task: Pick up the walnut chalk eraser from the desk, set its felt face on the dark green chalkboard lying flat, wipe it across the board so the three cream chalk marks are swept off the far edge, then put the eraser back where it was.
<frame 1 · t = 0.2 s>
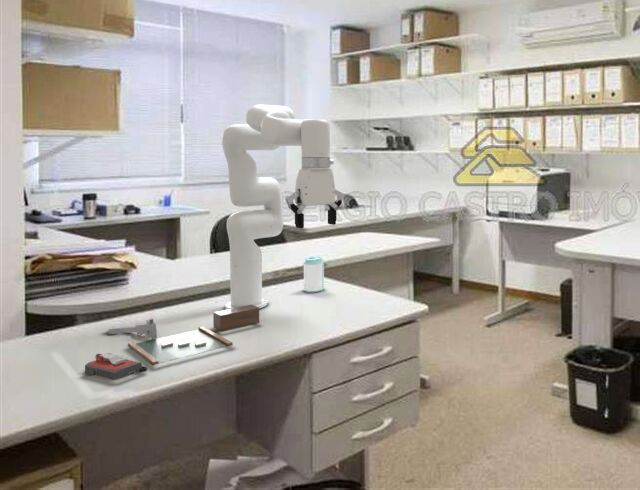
hand: (316, 226, 157), 31 cm above the table, tool pointing down, fingers open, 9 cm apart
chalk mark b: (183, 345, 148), point 1 cm above the table, touching chalkboard
eraser: (236, 329, 165), on the table
can: (313, 291, 209), on the table
chalk mark c: (200, 345, 149), point 1 cm above the table, touching chalkboard
walkie-talkie: (109, 372, 134), on the table
caliper: (130, 338, 158), on the table
chalk mark a: (167, 345, 148), point 1 cm above the table, touching chalkboard
chalkboard: (180, 349, 149), on the table
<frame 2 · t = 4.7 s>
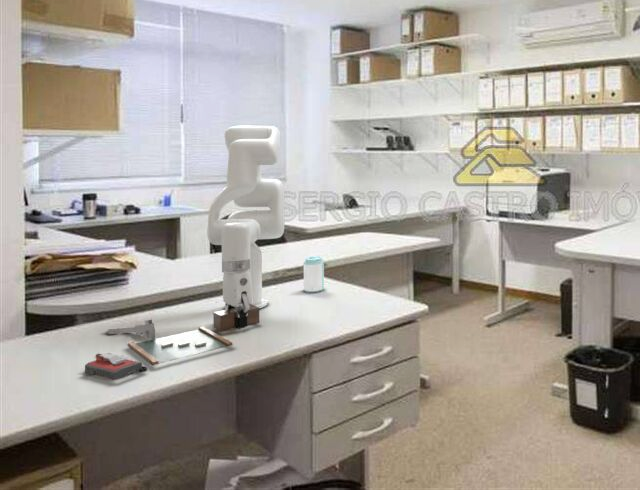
hand: (236, 327, 165), 0 cm above the table, tool pointing down, fingers closed on eraser, 5 cm apart
eraser: (236, 329, 165), on the table, touching gripper
everything else where it was.
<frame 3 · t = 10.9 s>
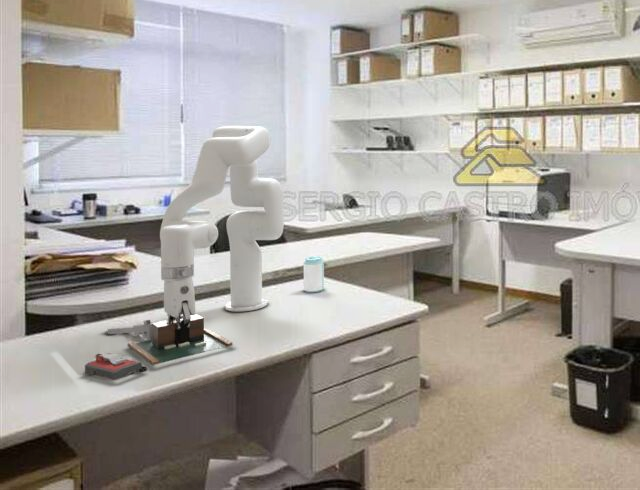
hand: (178, 340, 151), 2 cm above the table, tool pointing down, fingers closed on eraser, 5 cm apart
chalk mark b: (183, 345, 148), point 1 cm above the table, touching gripper
eraser: (178, 341, 151), point 1 cm above the table, touching chalk mark a, gripper
chalk mark a: (170, 347, 147), point 1 cm above the table, touching eraser
everything else where it was.
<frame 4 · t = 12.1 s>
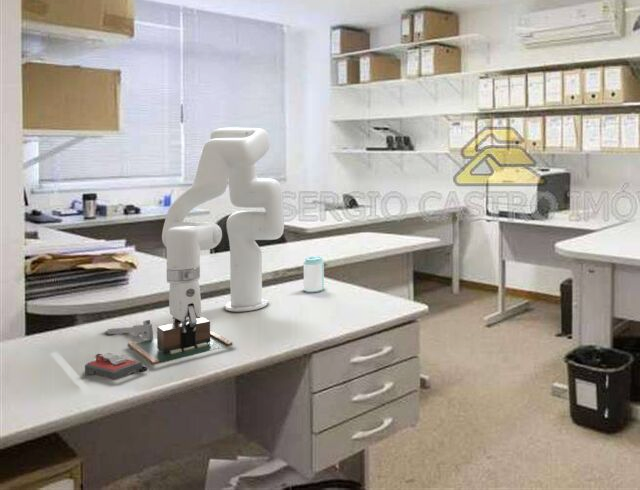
hand: (184, 343, 148), 2 cm above the table, tool pointing down, fingers closed on eraser, 5 cm apart
chalk mark b: (188, 349, 146), point 1 cm above the table, touching chalkboard, eraser, gripper
eraser: (184, 345, 148), point 1 cm above the table, touching chalk mark b, chalk mark c, gripper
chalk mark c: (201, 345, 148), point 1 cm above the table, touching chalkboard, eraser
chalk mark a: (175, 352, 143), point 1 cm above the table, touching chalkboard
everything else where it was.
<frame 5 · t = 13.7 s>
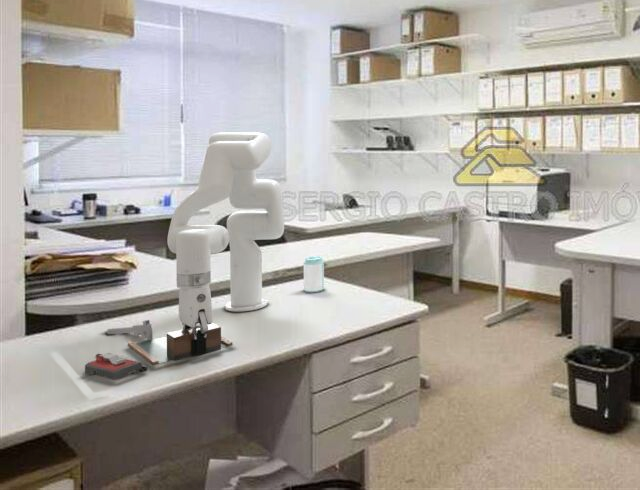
hand: (194, 350, 143), 2 cm above the table, tool pointing down, fingers closed on eraser, 5 cm apart
chalk mark b: (198, 359, 141), on the table, tilted 180°
eraser: (194, 352, 143), point 1 cm above the table, touching gripper
chalk mark c: (211, 354, 144), on the table, tilted 180°
chalk mark a: (183, 360, 140), point 1 cm above the table, tilted 91°
everything else where it was.
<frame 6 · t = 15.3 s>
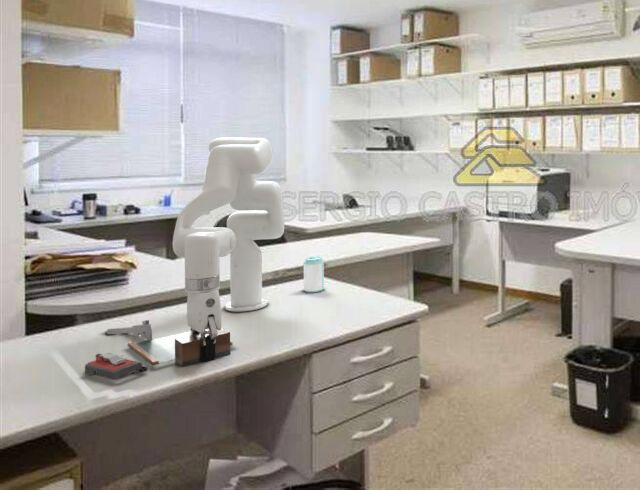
hand: (203, 356, 140), 1 cm above the table, tool pointing down, fingers closed on eraser, 5 cm apart
eraser: (203, 358, 140), point 1 cm above the table, touching gripper
chalk mark a: (184, 361, 139), on the table, tilted 180°
everything else where it was.
when the fingers open (0 cm above the table, at t = 21.5 s): eraser stays where it is, on the table.
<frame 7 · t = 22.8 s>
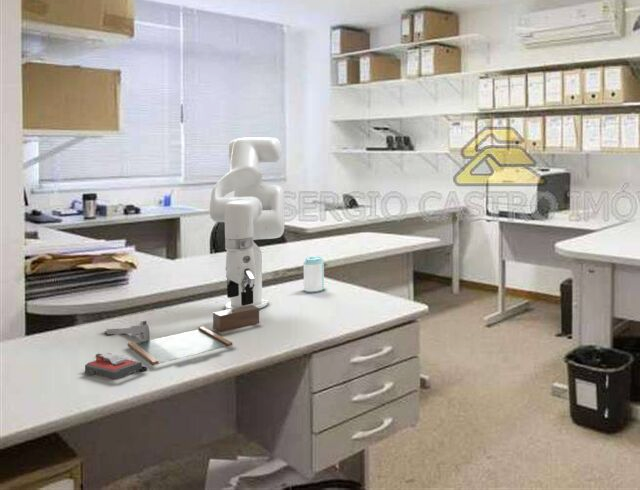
hand: (240, 300, 168), 8 cm above the table, tool pointing down, fingers open, 9 cm apart
eraser: (236, 329, 165), on the table
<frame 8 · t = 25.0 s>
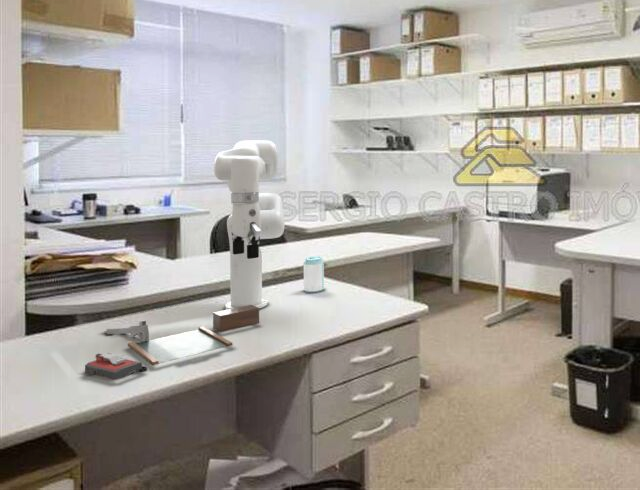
hand: (245, 255, 170), 20 cm above the table, tool pointing down, fingers open, 9 cm apart
at the end: chalk mark a point 0.5 cm above the table; chalk mark b on the table; chalk mark c on the table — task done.
